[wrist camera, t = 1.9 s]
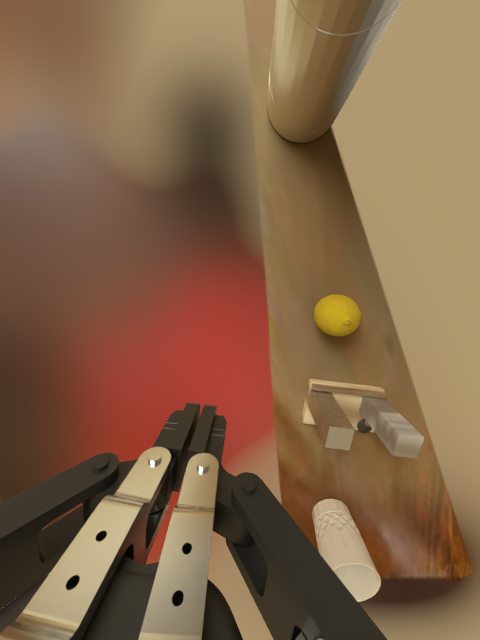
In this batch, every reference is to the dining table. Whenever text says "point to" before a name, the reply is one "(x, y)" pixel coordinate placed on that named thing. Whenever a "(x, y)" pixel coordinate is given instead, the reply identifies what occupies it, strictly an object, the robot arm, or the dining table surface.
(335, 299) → the lemon
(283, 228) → the dining table surface
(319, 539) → the white cup
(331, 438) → the block
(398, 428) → the gauge board
